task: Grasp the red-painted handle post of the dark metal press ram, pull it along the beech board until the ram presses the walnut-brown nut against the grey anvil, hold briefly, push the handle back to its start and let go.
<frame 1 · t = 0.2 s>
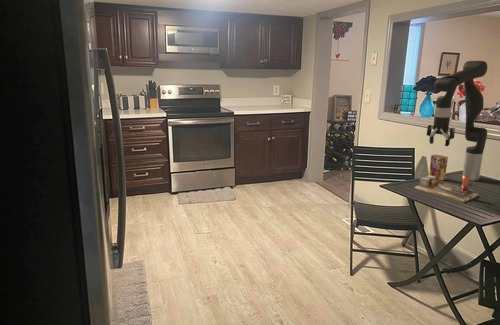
hand: (438, 144, 196), 29 cm above the table, fingers open, 8 cm apart
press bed: (445, 192, 204), on the table
candy box: (436, 178, 229), on the table
nut: (434, 187, 209), point 1 cm above the table, touching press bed
ram: (461, 184, 196), point 7 cm above the table, slide at 0.0 cm
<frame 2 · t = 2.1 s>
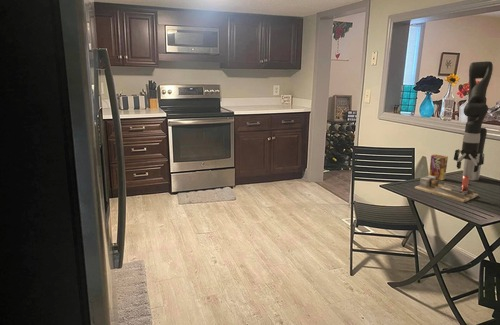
hand: (466, 170, 192), 16 cm above the table, fingers open, 8 cm apart
nothing on the table moved.
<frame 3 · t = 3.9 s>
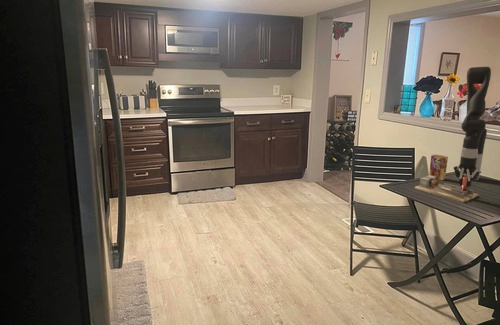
hand: (464, 186, 194), 7 cm above the table, fingers closed on ram, 3 cm apart
ram: (461, 184, 196), point 7 cm above the table, slide at 0.0 cm, touching gripper
everything else where it was.
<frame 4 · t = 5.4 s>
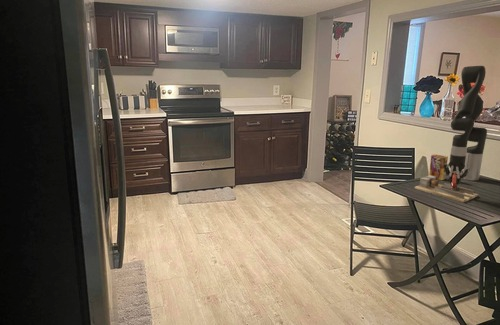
hand: (454, 183, 199), 7 cm above the table, fingers closed on ram, 3 cm apart
ram: (451, 182, 200), point 7 cm above the table, slide at 5.6 cm, touching gripper
everything else where it was.
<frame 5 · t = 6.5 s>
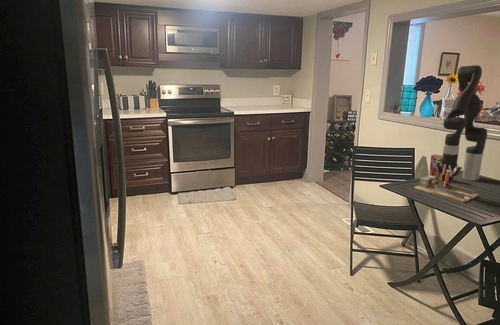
hand: (447, 181, 202), 7 cm above the table, fingers closed on ram, 3 cm apart
ram: (444, 180, 203), point 7 cm above the table, slide at 9.8 cm, touching gripper
everything else where it was.
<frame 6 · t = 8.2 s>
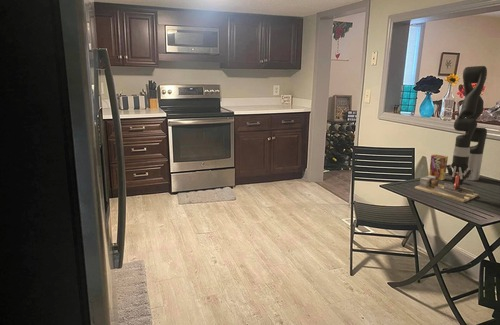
hand: (457, 184, 197), 7 cm above the table, fingers closed on ram, 3 cm apart
ram: (454, 183, 199), point 7 cm above the table, slide at 4.1 cm, touching gripper
everything else where it was.
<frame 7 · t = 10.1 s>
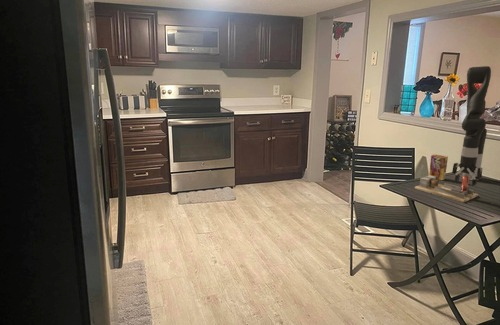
hand: (465, 183, 194), 8 cm above the table, fingers open, 8 cm apart
ram: (461, 184, 196), point 7 cm above the table, slide at 0.1 cm
everything else where it was.
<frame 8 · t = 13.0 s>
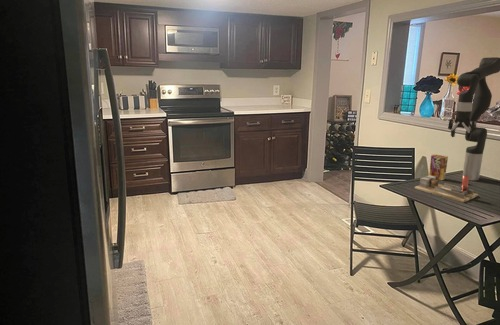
hand: (460, 137, 204), 30 cm above the table, fingers open, 8 cm apart
nothing on the table moved.
at the end: ram slide at 0.1 cm; the gripper is holding nothing; nut inside the target area (0.0 cm from its centre), point 1.2 cm above the table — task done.
